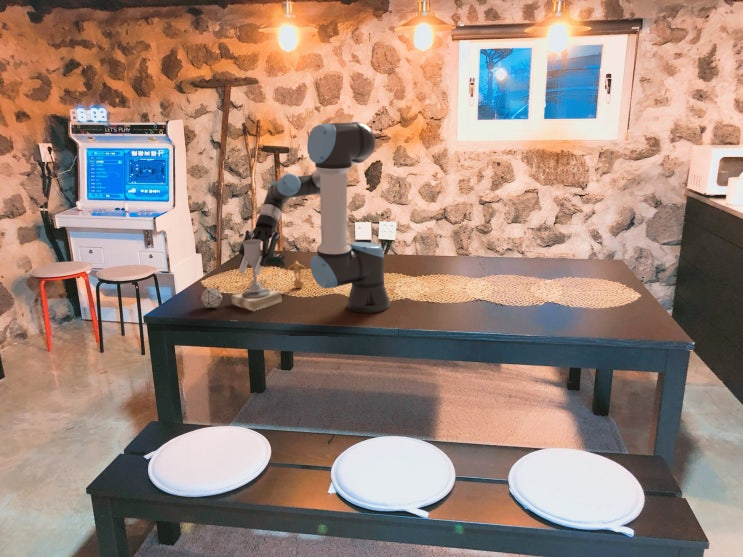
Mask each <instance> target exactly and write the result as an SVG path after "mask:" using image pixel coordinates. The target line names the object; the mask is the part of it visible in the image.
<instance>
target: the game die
mask: <svg viewBox="0 0 743 557" xmlns="http://www.w3.org/2000/svg"><path fill="white" fill-rule="evenodd" d="M219 288H220V286H217V287H208V288H207V287H206V286H204V290H203V292H202V294H201V296H198V297H197V299H199V300H200V301H201V302H202V304H203V305H204V309H205V310H206V309H211V308H215V309H216V310H219V309H220V307H219V306H220V304H221V302H222V301H223V299H226V297H224V296H223V295H222V294H221V292H220V290H219Z"/></svg>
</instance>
